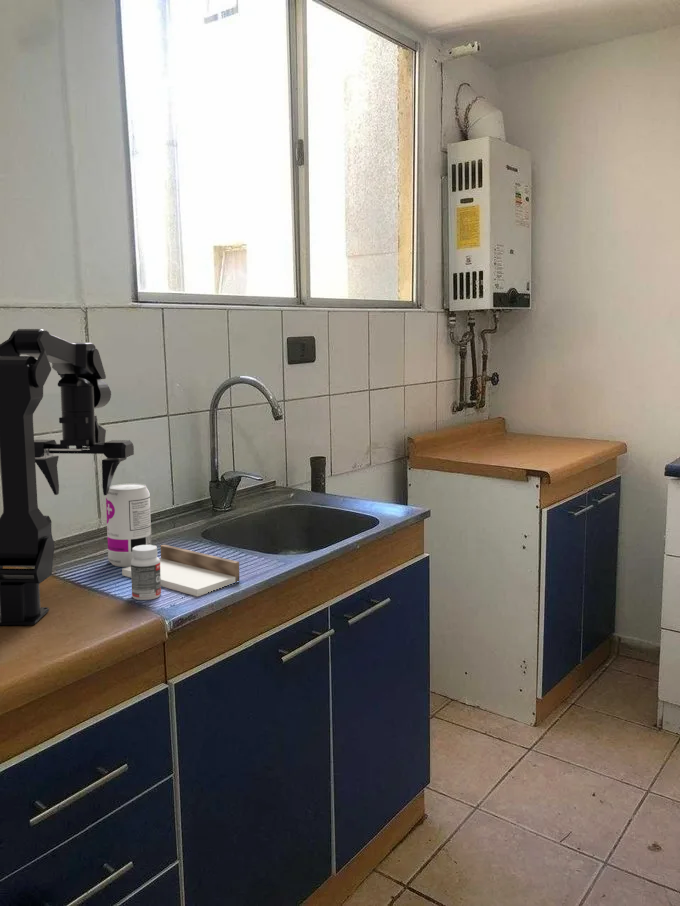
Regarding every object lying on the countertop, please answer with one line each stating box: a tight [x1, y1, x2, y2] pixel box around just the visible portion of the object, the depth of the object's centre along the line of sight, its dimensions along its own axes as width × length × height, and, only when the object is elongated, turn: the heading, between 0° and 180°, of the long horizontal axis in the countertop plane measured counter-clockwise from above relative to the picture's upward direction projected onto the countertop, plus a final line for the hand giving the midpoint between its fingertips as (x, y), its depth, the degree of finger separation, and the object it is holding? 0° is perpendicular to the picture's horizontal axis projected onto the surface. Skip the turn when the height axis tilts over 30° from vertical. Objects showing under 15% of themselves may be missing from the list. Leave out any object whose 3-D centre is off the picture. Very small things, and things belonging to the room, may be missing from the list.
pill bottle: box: [131, 544, 162, 601], centre depth 121 cm, size 5×5×8 cm
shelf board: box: [121, 544, 240, 597], centre depth 131 cm, size 20×10×4 cm, turn 54°
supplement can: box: [105, 482, 152, 568], centre depth 141 cm, size 8×8×15 cm
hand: (81, 494), depth 136 cm, fingers open, 9 cm apart
